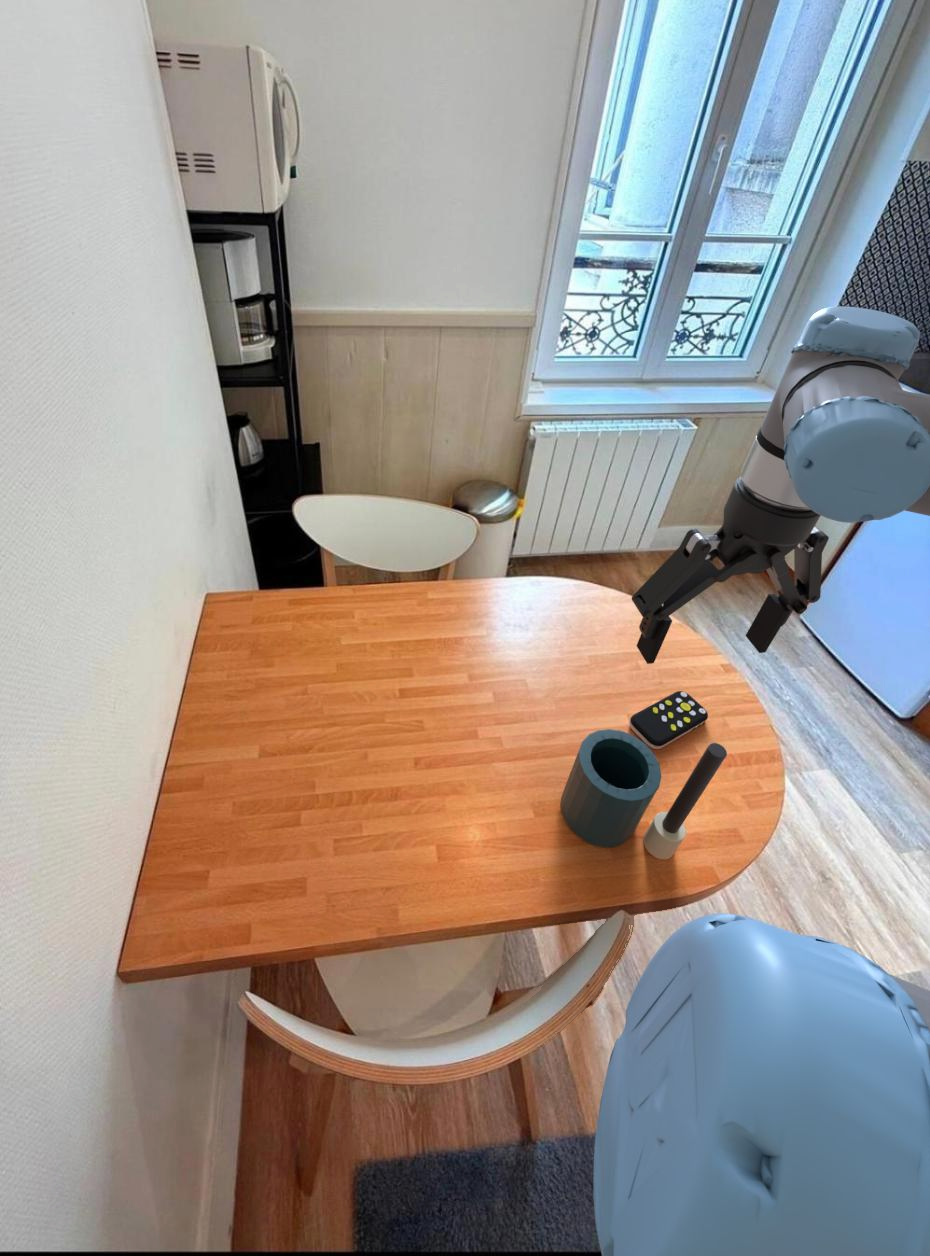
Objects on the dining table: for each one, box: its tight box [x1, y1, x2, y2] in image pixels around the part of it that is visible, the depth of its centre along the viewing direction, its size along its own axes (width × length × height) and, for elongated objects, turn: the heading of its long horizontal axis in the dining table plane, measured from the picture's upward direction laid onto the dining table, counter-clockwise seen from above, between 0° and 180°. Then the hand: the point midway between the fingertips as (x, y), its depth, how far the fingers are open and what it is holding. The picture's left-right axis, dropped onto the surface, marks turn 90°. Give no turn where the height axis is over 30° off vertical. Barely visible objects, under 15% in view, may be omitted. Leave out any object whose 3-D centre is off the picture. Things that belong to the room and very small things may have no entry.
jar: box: [560, 728, 662, 849], centre depth 81 cm, size 10×10×12 cm
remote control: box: [628, 690, 709, 750], centre depth 97 cm, size 6×13×2 cm, turn 120°
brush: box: [642, 742, 728, 860], centre depth 75 cm, size 4×4×22 cm
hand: (700, 649), depth 69 cm, fingers open, 13 cm apart
